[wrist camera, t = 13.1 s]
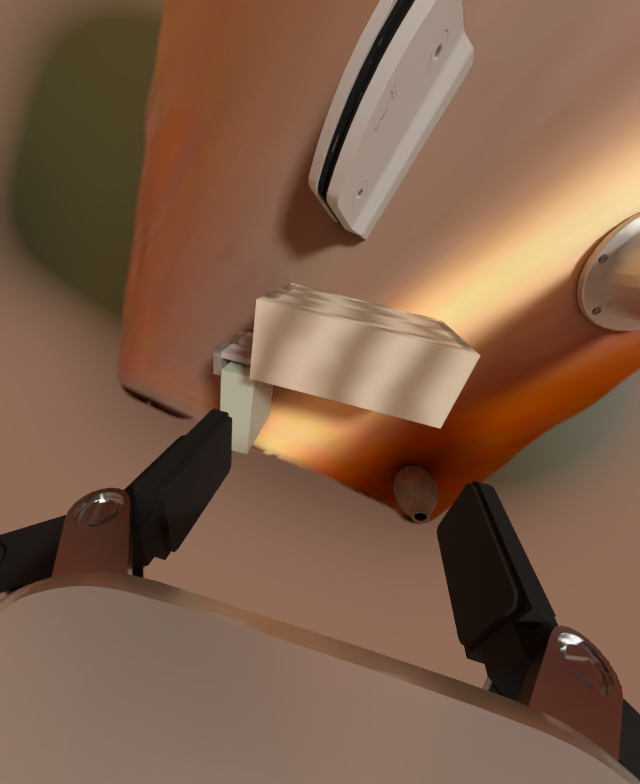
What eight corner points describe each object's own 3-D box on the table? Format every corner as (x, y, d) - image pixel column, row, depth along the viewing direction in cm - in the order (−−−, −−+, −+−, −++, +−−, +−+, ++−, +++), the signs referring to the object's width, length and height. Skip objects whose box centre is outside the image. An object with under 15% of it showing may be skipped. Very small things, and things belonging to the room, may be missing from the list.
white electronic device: (364, 243, 31) (331, 217, 23) (333, 221, 32) (291, 188, 24) (476, 59, 24) (491, -88, 15) (432, 36, 24) (422, -116, 16)
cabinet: (442, 320, 34) (480, 355, 23) (409, 394, 40) (427, 452, 28) (246, 271, 35) (189, 282, 24) (241, 351, 40) (192, 390, 29)
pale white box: (278, 350, 39) (254, 378, 31) (269, 415, 45) (246, 454, 37) (247, 342, 40) (214, 368, 31) (242, 408, 45) (213, 445, 37)
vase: (400, 491, 49) (406, 536, 41) (385, 465, 47) (389, 507, 39) (438, 482, 47) (452, 527, 39) (424, 453, 44) (436, 496, 37)
